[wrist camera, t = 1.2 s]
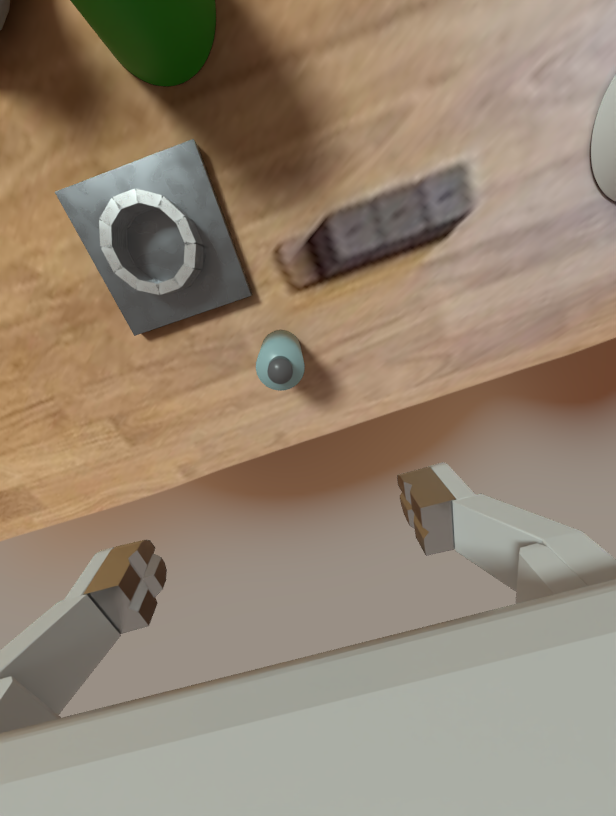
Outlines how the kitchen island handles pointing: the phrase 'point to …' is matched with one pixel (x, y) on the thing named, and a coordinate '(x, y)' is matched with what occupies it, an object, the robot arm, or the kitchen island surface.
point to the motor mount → (158, 237)
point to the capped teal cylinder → (280, 361)
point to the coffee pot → (3, 11)
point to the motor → (154, 35)
